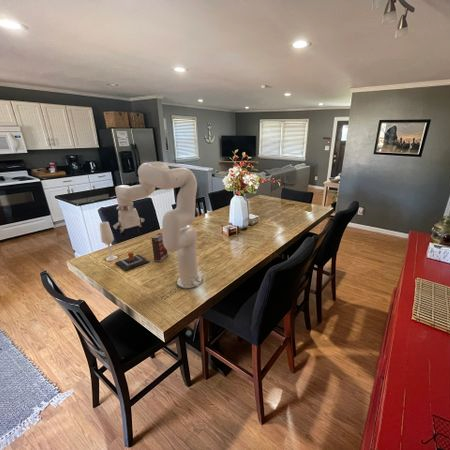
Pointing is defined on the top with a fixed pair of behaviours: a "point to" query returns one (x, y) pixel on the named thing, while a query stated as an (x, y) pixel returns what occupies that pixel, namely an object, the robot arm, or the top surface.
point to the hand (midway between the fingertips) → (131, 235)
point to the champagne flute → (107, 238)
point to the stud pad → (131, 258)
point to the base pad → (132, 265)
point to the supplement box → (159, 247)
